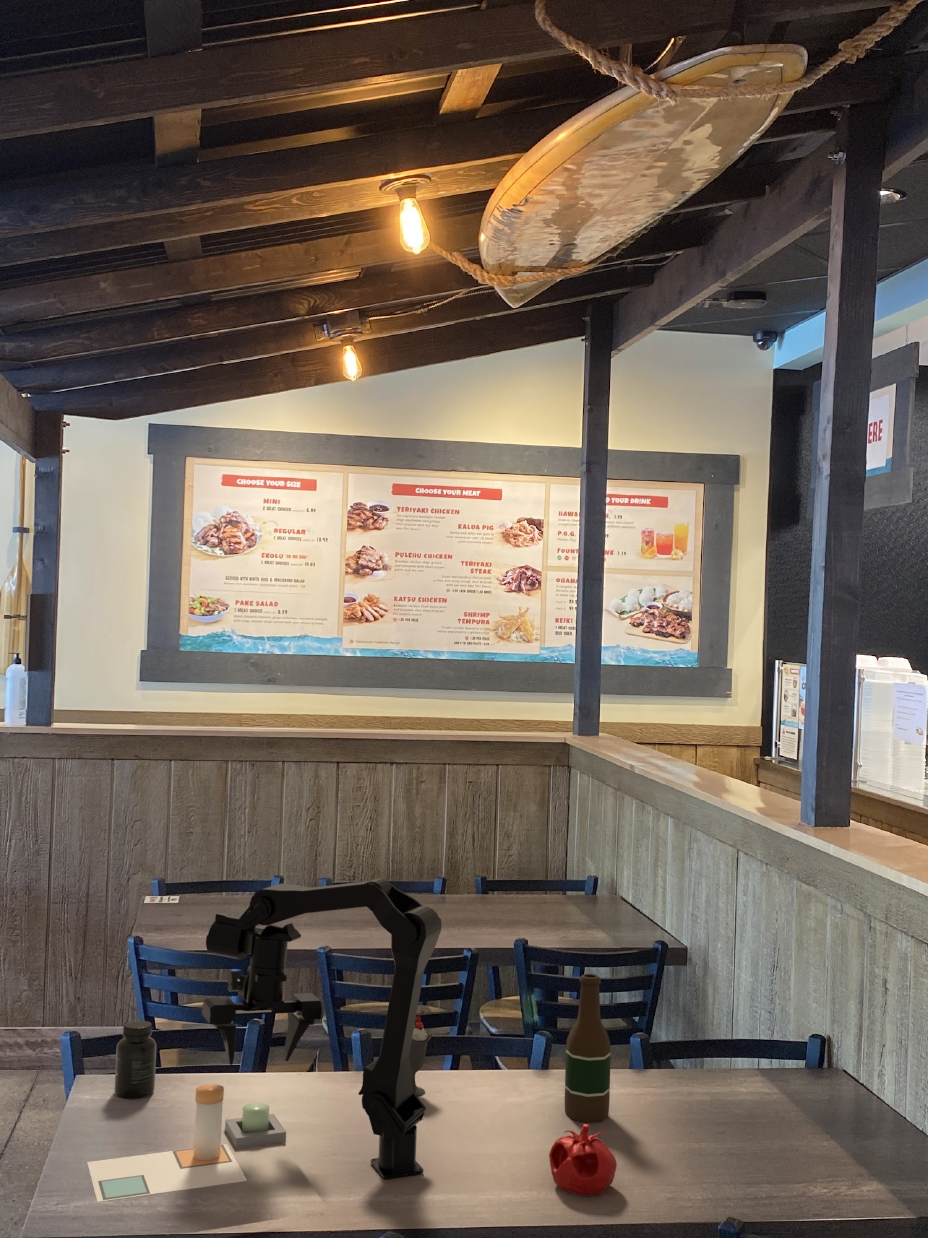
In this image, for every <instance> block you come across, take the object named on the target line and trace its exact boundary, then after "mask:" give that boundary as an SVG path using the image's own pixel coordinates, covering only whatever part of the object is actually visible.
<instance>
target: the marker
mask: <svg viewBox="0 0 928 1238" xmlns="http://www.w3.org/2000/svg"><path fill="white" fill-rule="evenodd" d="M224 1092H225V1087H224V1086H223V1085H220V1084H218V1083H217V1084H216V1083H215V1084H214V1083H208V1084H202V1085H199V1086H196V1089H195V1118H194V1138H193V1148H194V1155H193V1157H194V1158H195V1159H197V1160H201V1161H209V1160H214V1159H217V1158H218V1157H219V1156H220V1147H221V1145H222V1143H221V1142H222V1124H223V1123H222V1122H223V1121H222V1120H223V1104H224V1103H223V1101H224V1096H225V1094H224Z"/></svg>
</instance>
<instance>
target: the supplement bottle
mask: <svg viewBox="0 0 928 1238" xmlns="http://www.w3.org/2000/svg"><path fill="white" fill-rule="evenodd" d="M152 1024H153V1023H151V1022H150V1021H147V1020H133V1021H128V1022H125V1023H124V1024H123V1027H122V1028H123V1029H122V1030H123V1032H122V1037H123V1038H121V1039H120V1040H119V1041H118V1042H117V1044H116V1049H115V1050H116V1053H115V1069H114V1070H115V1071H114V1072H115V1074H114V1075H115V1076H114V1093H115V1096H117V1097H118V1098H120V1099H123V1100H140V1099H144V1098H146V1097H149V1096H151V1095H152V1094H153V1093H154V1091H155V1085H156V1083H155V1082H156V1066H157V1065H156V1064H157V1062H156V1061H157V1060H156V1059H157V1043H156V1040H155V1039H154V1038H152V1037H151V1036H152V1034H153V1032H152Z"/></svg>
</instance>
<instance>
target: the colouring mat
mask: <svg viewBox="0 0 928 1238" xmlns="http://www.w3.org/2000/svg"><path fill="white" fill-rule="evenodd" d="M193 1155H194V1147H192V1148H186V1149H178V1150H171V1151H163V1152H155V1153H147V1154H139V1155H133V1156H132V1155H131V1156H124V1157H117V1158H109V1159H101V1160H94V1161H87V1163H86V1164H87V1166H88V1167H87V1168H88V1171H89V1174H90V1179H91V1183H92V1186H93V1187H92V1188H93V1191H94V1194H95V1198H96V1202H97V1203H100V1202H109V1201H115V1200H116V1201H117V1200H123V1199H129V1198H136V1197H143V1196H144V1197H145V1196H149V1195H156V1194H165V1193H172V1192H177V1191H178V1192H179V1191H185V1190H192V1189H200V1188H207V1187H213V1186H219V1185H228V1184H235V1183H240V1182H247V1181H248V1180H247V1178H246V1176H245V1174H244V1173H243V1170H242V1169H241V1167H240V1166H239V1164H238V1161H237V1160H236V1158H235V1157H234V1155H233V1152H232V1151H231V1149H230V1148H229V1145H228V1144H227V1143H224V1144H221V1147H220V1156H219V1157H218V1158H217V1159H214V1160H209V1161H201V1160H197V1159H195V1158H194V1157H193Z"/></svg>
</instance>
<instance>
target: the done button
mask: <svg viewBox="0 0 928 1238" xmlns="http://www.w3.org/2000/svg"><path fill="white" fill-rule="evenodd" d="M269 1114H270V1105H269V1104H267V1103H264V1102H250V1103H246V1104H245V1105H243V1107H242V1118H243V1119H242V1133H243V1134H246V1133H254V1132H262V1131H269Z"/></svg>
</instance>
